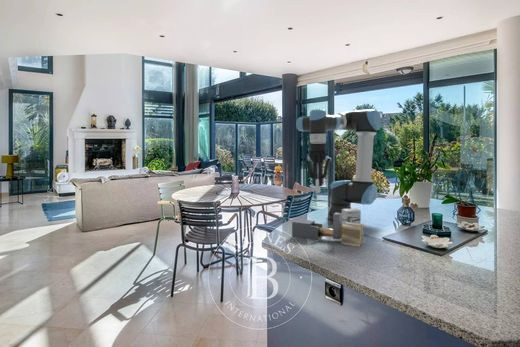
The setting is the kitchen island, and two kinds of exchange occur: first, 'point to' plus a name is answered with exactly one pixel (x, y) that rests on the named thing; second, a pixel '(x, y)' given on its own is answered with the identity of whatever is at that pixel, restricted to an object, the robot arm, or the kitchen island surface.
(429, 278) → the kitchen island surface
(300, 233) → the sleeve
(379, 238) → the kitchen island surface
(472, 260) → the kitchen island surface
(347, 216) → the ink box
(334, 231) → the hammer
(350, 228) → the socket
